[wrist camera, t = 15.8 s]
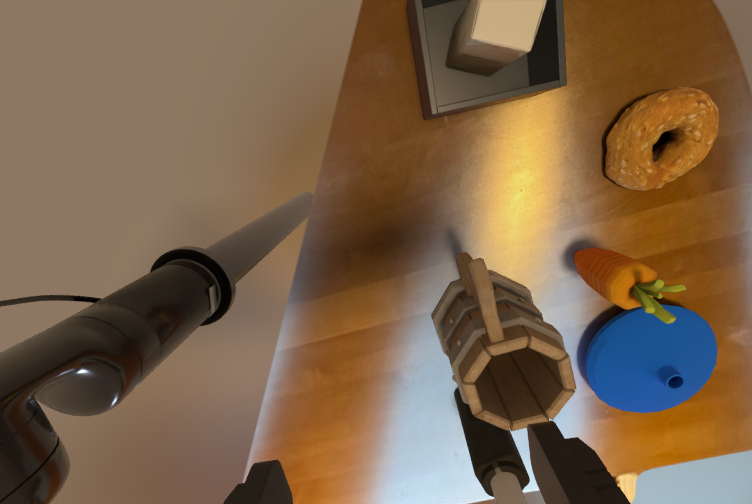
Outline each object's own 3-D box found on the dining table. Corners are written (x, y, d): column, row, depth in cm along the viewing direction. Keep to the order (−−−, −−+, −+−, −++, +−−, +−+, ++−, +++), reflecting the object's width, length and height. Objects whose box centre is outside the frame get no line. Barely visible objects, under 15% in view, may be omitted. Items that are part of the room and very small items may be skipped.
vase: (694, 281, 44) (749, 305, 38) (699, 382, 49) (749, 421, 42) (567, 312, 46) (597, 341, 40) (582, 407, 51) (612, 448, 44)
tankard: (539, 344, 48) (604, 430, 33) (449, 369, 49) (474, 461, 35) (505, 206, 42) (564, 238, 28) (405, 239, 44) (413, 285, 30)
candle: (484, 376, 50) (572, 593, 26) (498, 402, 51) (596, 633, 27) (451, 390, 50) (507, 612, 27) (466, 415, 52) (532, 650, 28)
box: (444, 67, 38) (466, 37, 27) (454, 21, 36) (482, -28, 26) (491, 77, 38) (532, 52, 27) (504, 33, 37) (551, -12, 26)
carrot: (562, 233, 43) (648, 277, 29) (602, 236, 43) (709, 283, 29) (552, 270, 45) (630, 331, 30) (591, 274, 45) (688, 336, 30)
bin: (423, 120, 40) (431, 115, 33) (406, 8, 37) (410, -26, 29) (533, 96, 39) (567, 85, 31) (525, -22, 36) (560, -64, 28)
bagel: (578, 150, 40) (602, 151, 36) (659, 69, 38) (697, 58, 33) (633, 206, 42) (663, 214, 37) (715, 132, 39) (758, 131, 35)
